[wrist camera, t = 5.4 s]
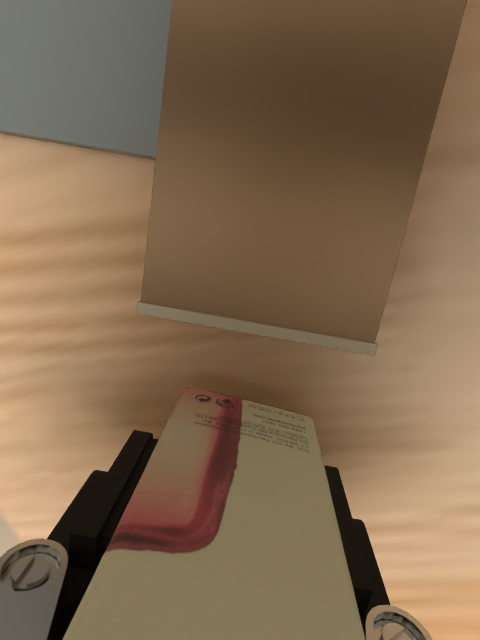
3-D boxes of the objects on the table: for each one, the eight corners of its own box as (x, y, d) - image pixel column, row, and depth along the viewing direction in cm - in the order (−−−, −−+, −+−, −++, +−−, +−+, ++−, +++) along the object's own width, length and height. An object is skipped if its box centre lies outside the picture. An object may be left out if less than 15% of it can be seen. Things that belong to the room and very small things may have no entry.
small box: (183, 380, 12) (40, 650, 5) (317, 415, 12) (401, 745, 4) (153, 512, 13) (2, 894, 6) (274, 543, 13) (283, 970, 6)
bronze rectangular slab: (221, -172, 10) (202, -343, 7) (462, -134, 10) (550, -292, 7) (166, 291, 13) (136, 313, 10) (348, 323, 13) (374, 355, 10)
